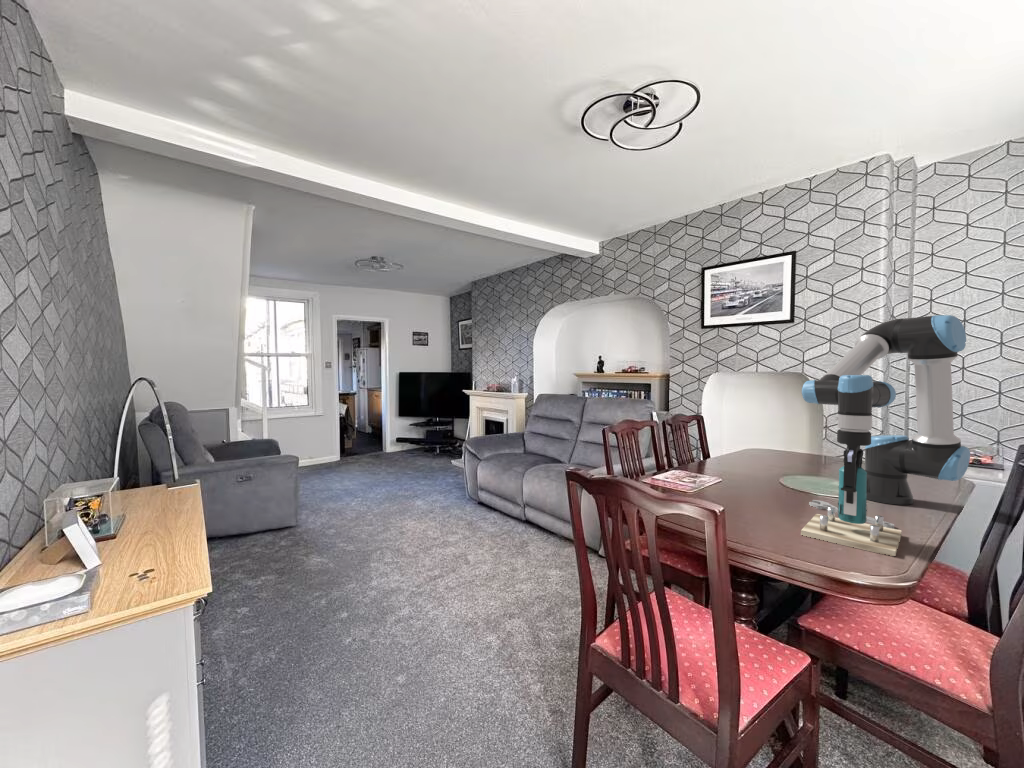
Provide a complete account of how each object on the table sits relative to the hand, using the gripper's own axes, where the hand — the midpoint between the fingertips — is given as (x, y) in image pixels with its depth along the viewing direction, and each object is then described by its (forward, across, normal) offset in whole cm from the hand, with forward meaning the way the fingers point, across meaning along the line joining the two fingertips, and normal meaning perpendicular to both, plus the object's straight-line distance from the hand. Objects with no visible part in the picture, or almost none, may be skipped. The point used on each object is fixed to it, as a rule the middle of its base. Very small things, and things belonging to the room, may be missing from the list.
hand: (851, 511), depth 122 cm
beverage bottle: (+4, 0, 0) cm, 4 cm away
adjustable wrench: (+8, -21, -4) cm, 22 cm away
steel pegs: (+5, 0, 0) cm, 5 cm away
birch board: (+7, 0, 0) cm, 7 cm away
